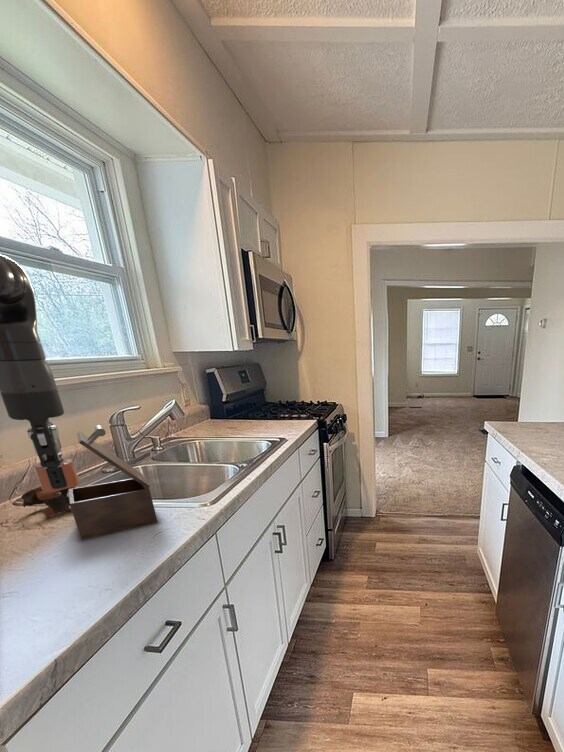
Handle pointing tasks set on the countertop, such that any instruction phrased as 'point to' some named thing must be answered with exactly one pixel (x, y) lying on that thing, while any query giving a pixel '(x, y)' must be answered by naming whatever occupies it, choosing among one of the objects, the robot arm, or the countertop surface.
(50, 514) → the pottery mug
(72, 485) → the small terracotta bowl
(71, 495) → the chest
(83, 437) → the lid
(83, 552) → the countertop surface
